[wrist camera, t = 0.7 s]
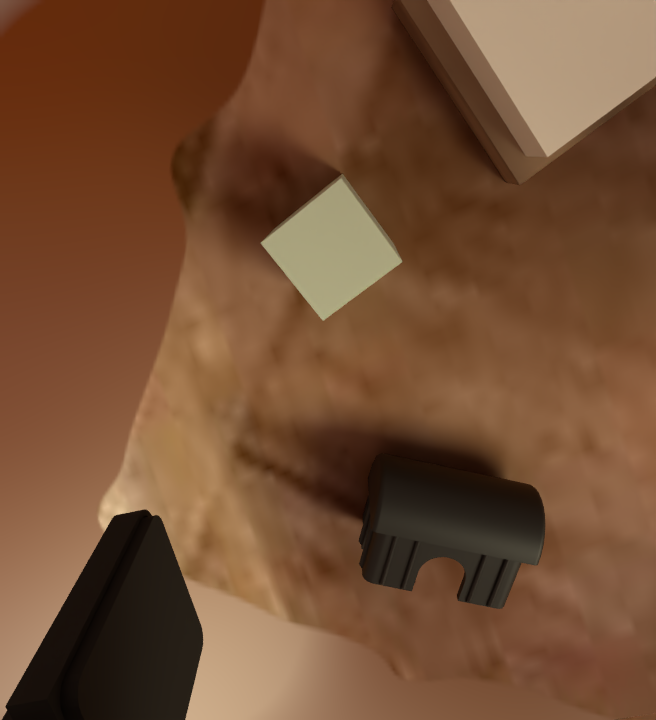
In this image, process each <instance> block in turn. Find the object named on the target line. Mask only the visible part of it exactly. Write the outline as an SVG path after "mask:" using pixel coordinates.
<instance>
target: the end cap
mask: <svg viewBox="0 0 656 720" xmlns="http://www.w3.org/2000/svg"><path fill="white" fill-rule="evenodd" d="M368 487H369V495H368V498H367V502H366V506H365V509H364V513H363V527H362V531H361V534H360V538H359V542H360V544H361V547H362V549H363V552H362V556H361V559H360V563H359V564H360V566H361V568H362V575H363V577H364V579H365V580H366V581H368V582H370V583H373V584H378V585H383V586H388V587H393V588H398V589H403V590H408V591H412V589H413V586H414V583H415V580H416V577H417V574H418V571H419V569H420V568H421V566H422V565H423V564H424V563H425V562H427V561H428V560H430V559H433V558H437V557H448V558H452V559H454V560H456V561H458V562H459V563H460V564H461V565H462V566H463V567H464V569H465V573H464V577H463V580H462V583H461V585H460V588H459V591H458V594H457V598H458V601H462V602H467V603H472V604H477V605H482V606H487V607H492V608H497V609H501V608H503V607H504V605H505V602H506V600H507V597H508V595H509V592H510V590H511V587H512V585H513V582H514V580H515V577H516V575H517V572H518V570H519V568H520V565H521V563H526V564H531V565H538V563H539V560H540V557H541V553H542V549H543V544H544V537H545V513H544V506H543V503H542V499H541V497H540V495H539V493H538V491H537V490H536V489H535V488H534V487H533V486H531V485H529V484H525V483H520V482H515V481H511V480H506V479H501V478H497V477H492V476H487V475H482V474H478V473H473V472H468V471H464V470H459V469H454V468H449V467H445V466H440V465H435V464H431V463H426V462H421V461H416V460H412V459H407V458H402V457H398V456H393V455H388V454H383V453H381V454H379V455H378V456H377V457H376V458H375V460H374V462H373V464H372V467H371V470H370V473H369V476H368Z"/></svg>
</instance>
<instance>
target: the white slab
mask: <svg viewBox="0 0 656 720" xmlns="http://www.w3.org/2000/svg"><path fill="white" fill-rule="evenodd" d="M427 1H428V3H429V4H430V6H431V7H432V9H433V11H434V12H435V14H436V15H437V17H438V18H439V20H440V22H441V23H442V25H443V26H444V28H445V30H446V31H447V33H448V34H449V36H450V37H451V39H452V41H453V42H454V44H455V45H456V47H457V48H458V50H459V52H460V53H461V55H462V56H463V58H464V59H465V61H466V63H467V64H468V66H469V67H470V69H471V71H472V72H473V74H474V75H475V77H476V78H477V80H478V82H479V83H480V85H481V86H482V88H483V89H484V91H485V93H486V94H487V96H488V97H489V99H490V100H491V102H492V104H493V105H494V107H495V108H496V110H497V112H498V113H499V115H500V116H501V118H502V119H503V121H504V123H505V124H506V126H507V127H508V129H509V130H510V132H511V134H512V135H513V137H514V138H515V140H516V141H517V143H518V145H519V146H520V148H521V149H522V151H523V153H524V154H525V156H531V157H549V156H550V155H551V154H553V153H554V152H555V151H557V150H558V149H559V148H561V147H562V146H563V145H565V144H566V143H567V142H569V141H570V140H571V139H573V138H574V137H576V136H577V135H578V134H580V133H581V132H582V131H584V130H585V129H586V128H588V127H589V126H590V125H592V124H593V123H594V122H596V121H597V120H598V119H600V118H601V117H603V116H604V115H605V114H607V113H608V112H609V111H611V110H612V109H613V108H615V107H616V106H617V105H619V104H620V103H621V102H623V101H624V100H625V99H627V98H628V97H630V96H631V95H632V94H634V93H635V92H636V91H638V90H639V89H640V88H642V87H643V86H644V85H646V84H647V83H648V82H650V81H651V80H653V79H654V78H655V77H656V0H427Z"/></svg>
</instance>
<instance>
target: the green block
mask: <svg viewBox="0 0 656 720" xmlns="http://www.w3.org/2000/svg"><path fill="white" fill-rule="evenodd" d="M261 244H262V245H263V247H264V248H265V249H266V250H267V252H268V253H269V254H270V255H271V257H272V258H273V259H274V260H275V262H276V263H277V264H278V265H279V267H280V268H281V269H282V270H283V272H284V273H285V274H286V275H287V277H288V278H289V279H290V280H291V282H292V283H293V284H294V285H295V287H296V288H297V289H298V290H299V292H300V293H301V294H302V295H303V297H304V298H305V299H306V300H307V302H308V303H309V304H310V305H311V307H312V308H313V309H314V310H315V312H316V313H317V314H318V315H319V317H320V318H321V319H322V320H325V319H326V318H327V317H329V316H330V315H331V314H333V313H334V312H336V311H337V310H338V309H340V308H341V307H342V306H344V305H345V304H346V303H348V302H349V301H350V300H352V299H353V298H354V297H356V296H357V295H358V294H360V293H361V292H362V291H364V290H365V289H367V288H368V287H369V286H371V285H372V284H373V283H375V282H376V281H377V280H379V279H380V278H381V277H383V276H384V275H385V274H387V273H388V272H389V271H391V270H392V269H393V268H395V267H396V266H397V265H399V264H400V263H402V260H401V258H400V255H399V253H398V251H397V249H396V247H395V245H394V243H393V242H392V241H391V239H390V238H389V237H388V235H387V234H386V232H385V231H384V230H383V228H382V227H381V226H380V224H379V223H378V221H377V220H376V219H375V217H374V216H373V215H372V213H371V212H370V211H369V209H368V208H367V206H366V205H365V204H364V202H363V201H362V200H361V198H360V197H359V196H358V194H357V193H356V191H355V190H354V189H353V187H352V186H351V185H350V183H349V182H348V181H347V179H346V178H345V176H344V175H343V174H341V175H340V176H339V177H337V178H336V179H335V180H334V181H333V182H331V183H330V184H329V185H328V186H326V187H325V188H324V189H323V190H321V191H320V192H319V193H318V194H316V195H315V196H314V197H313V198H311V199H310V200H309V201H308V202H307V203H305V204H304V205H303V206H302V207H300V208H299V209H298V210H297V211H295V212H294V213H293V214H292V215H290V216H289V217H288V218H287V219H285V220H284V221H283V222H282V223H281V224H279V225H278V226H277V227H276V228H274V229H273V231H272V232H271V233H270V234H269V235H268V236H267V237H266V238H265V239H264V240H263V241H262V242H261Z"/></svg>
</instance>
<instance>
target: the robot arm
mask: <svg viewBox="0 0 656 720" xmlns="http://www.w3.org/2000/svg"><path fill="white" fill-rule="evenodd" d="M202 647H203V632H202V627H201V624H200V621H199V619H198V616H197V613H196V611H195V608H194V605H193V603H192V600H191V597H190V595H189V592H188V589H187V586H186V584H185V581H184V578H183V576H182V573H181V570H180V567H179V565H178V562H177V559H176V557H175V554H174V551H173V549H172V546H171V543H170V540H169V538H168V535H167V532H166V530H165V527H164V524H163V522H162V520H161V518H160V517H159V516H157V515H155V516H152V515H151V514H150V512H149V511H148V510H140V511H135V512H130V513H125V514H120V515H116V516H114V517H113V518H112V520H111V522H110V523H109V525H108V527H107V529H106V530H105V532H104V534H103V536H102V537H101V539H100V541H99V543H98V545H97V546H96V548H95V550H94V552H93V553H92V555H91V557H90V559H89V560H88V562H87V564H86V566H85V567H84V569H83V571H82V573H81V574H80V576H79V578H78V580H77V582H76V583H75V585H74V587H73V588H72V590H71V592H70V594H69V596H68V597H67V599H66V601H65V603H64V604H63V606H62V608H61V610H60V611H59V613H58V615H57V617H56V618H55V620H54V622H53V624H52V626H51V627H50V629H49V631H48V632H47V634H46V636H45V638H44V639H43V641H42V643H41V645H40V647H39V648H38V650H37V652H36V654H35V655H34V657H33V659H32V661H31V662H30V664H29V666H28V668H27V669H26V671H25V673H24V675H23V677H22V678H21V680H20V682H19V684H18V685H17V687H16V689H15V691H14V692H13V694H12V696H11V697H10V699H9V701H8V703H7V705H6V709H7V712H6V714H5V715H4V717H3V719H2V720H185V718H186V713H187V710H188V706H189V701H190V697H191V693H192V689H193V685H194V681H195V677H196V672H197V668H198V664H199V660H200V656H201V652H202ZM616 720H656V713H654V714H647V715H641V716H635V717H628V718H622V719H616Z"/></svg>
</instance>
